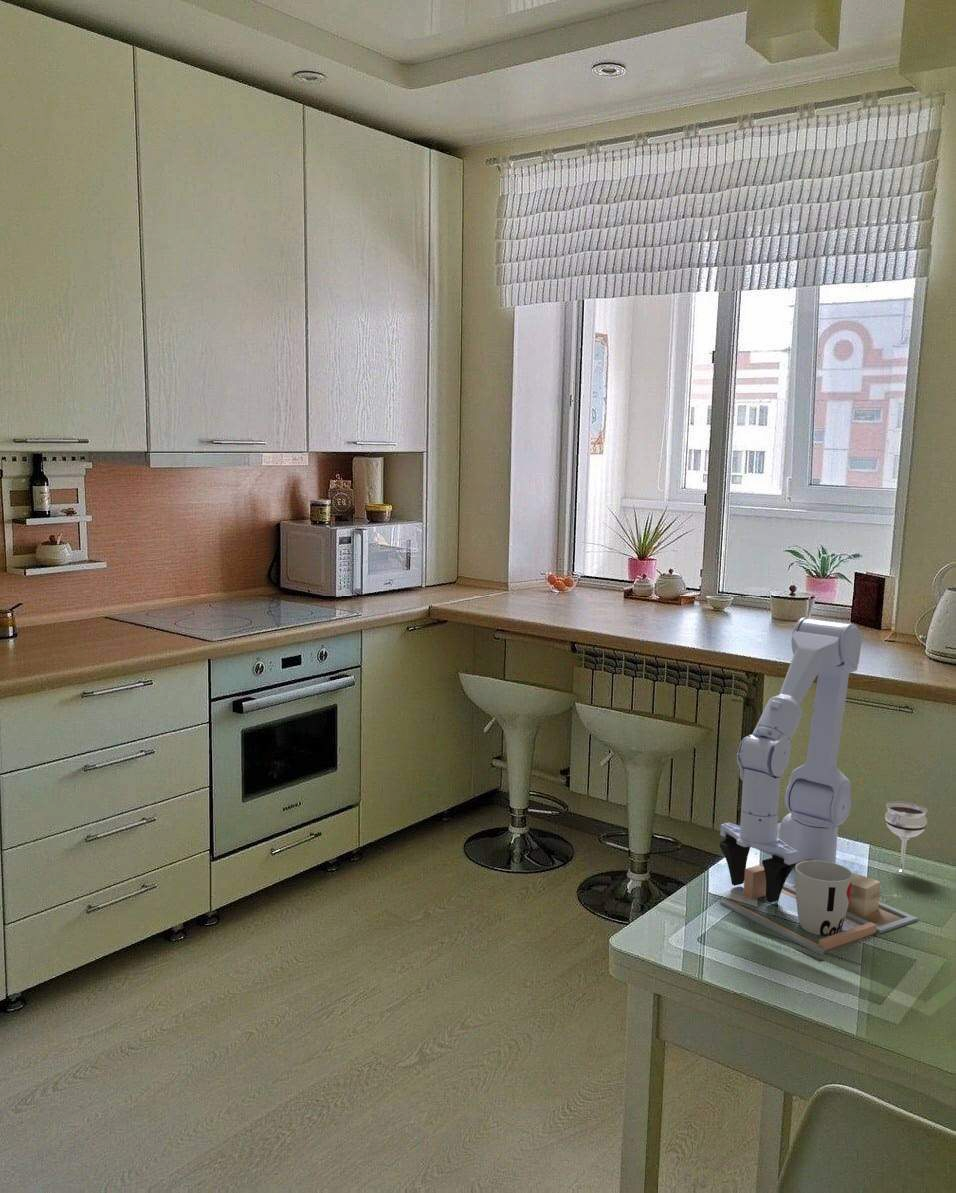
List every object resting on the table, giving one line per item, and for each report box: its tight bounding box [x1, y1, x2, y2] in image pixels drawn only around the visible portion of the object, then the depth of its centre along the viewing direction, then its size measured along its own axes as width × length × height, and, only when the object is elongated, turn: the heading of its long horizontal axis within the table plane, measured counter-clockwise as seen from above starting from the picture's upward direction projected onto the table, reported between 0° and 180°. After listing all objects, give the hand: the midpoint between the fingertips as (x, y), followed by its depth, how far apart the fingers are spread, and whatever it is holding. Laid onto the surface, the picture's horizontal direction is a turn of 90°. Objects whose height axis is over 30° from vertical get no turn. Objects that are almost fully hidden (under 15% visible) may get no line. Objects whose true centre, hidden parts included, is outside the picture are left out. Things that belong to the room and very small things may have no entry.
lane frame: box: [719, 882, 919, 963], centre depth 160 cm, size 20×22×2 cm
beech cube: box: [847, 872, 881, 917], centre depth 162 cm, size 4×4×4 cm
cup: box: [794, 861, 853, 937], centre depth 155 cm, size 8×8×10 cm
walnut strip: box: [790, 859, 903, 927], centre depth 164 cm, size 17×6×5 cm, turn 32°
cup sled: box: [728, 864, 877, 951], centre depth 158 cm, size 19×12×6 cm, turn 32°
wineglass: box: [884, 801, 928, 876], centre depth 178 cm, size 7×7×12 cm
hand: (754, 892), depth 166 cm, fingers open, 7 cm apart
